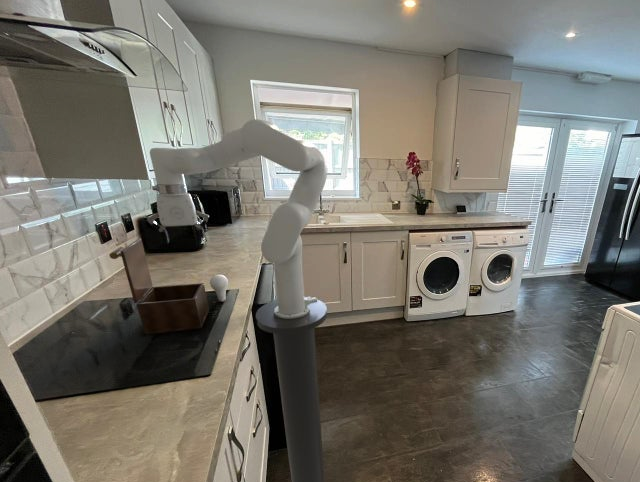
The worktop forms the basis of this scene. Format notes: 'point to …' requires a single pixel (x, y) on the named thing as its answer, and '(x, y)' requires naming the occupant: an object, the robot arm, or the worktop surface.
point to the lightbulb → (219, 286)
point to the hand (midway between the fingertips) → (184, 241)
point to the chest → (173, 308)
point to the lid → (135, 268)
